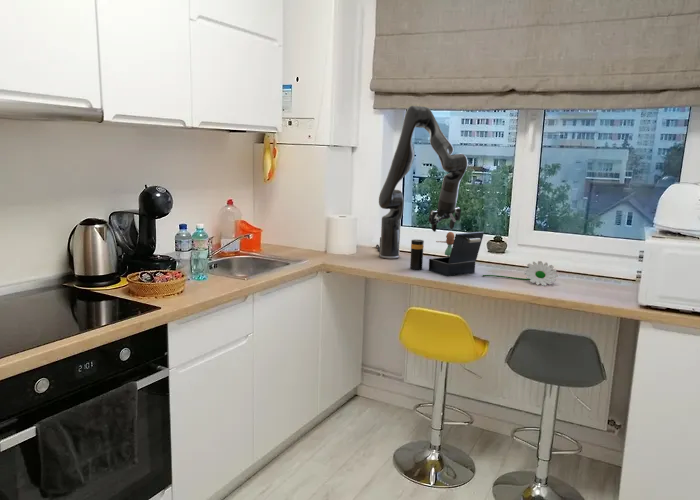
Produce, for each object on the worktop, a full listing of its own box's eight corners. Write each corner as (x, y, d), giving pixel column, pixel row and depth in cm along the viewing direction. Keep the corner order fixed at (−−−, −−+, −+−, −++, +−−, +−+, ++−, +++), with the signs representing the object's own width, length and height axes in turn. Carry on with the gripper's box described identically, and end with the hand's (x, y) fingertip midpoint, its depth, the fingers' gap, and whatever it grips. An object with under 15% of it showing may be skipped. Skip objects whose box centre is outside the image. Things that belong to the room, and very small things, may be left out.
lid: (455, 233, 221) (462, 237, 218) (482, 231, 229) (490, 235, 226) (448, 262, 226) (454, 267, 223) (474, 259, 235) (481, 264, 231)
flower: (483, 260, 232) (557, 259, 221) (484, 269, 236) (557, 268, 225) (480, 282, 223) (558, 282, 212) (482, 291, 226) (558, 291, 216)
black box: (428, 270, 238) (429, 258, 237) (454, 267, 246) (455, 256, 245) (447, 276, 227) (448, 264, 226) (474, 273, 235) (475, 261, 234)
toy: (462, 262, 257) (464, 231, 254) (463, 264, 252) (465, 233, 250) (434, 261, 258) (436, 230, 255) (434, 263, 254) (436, 231, 251)
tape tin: (407, 268, 241) (408, 239, 238) (417, 267, 244) (418, 239, 241) (415, 270, 236) (416, 241, 234) (424, 269, 239) (426, 241, 237)
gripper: (458, 191, 235) (452, 223, 245) (429, 195, 231) (424, 227, 240) (467, 200, 230) (460, 231, 239) (437, 204, 225) (431, 236, 235)
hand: (442, 229), depth 240 cm, fingers open, 8 cm apart
